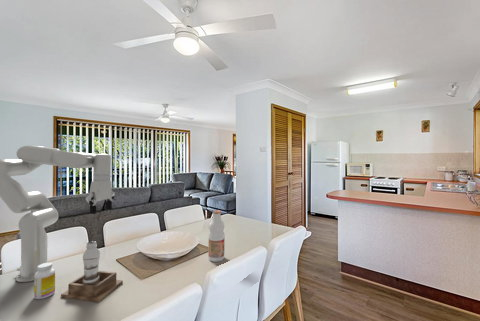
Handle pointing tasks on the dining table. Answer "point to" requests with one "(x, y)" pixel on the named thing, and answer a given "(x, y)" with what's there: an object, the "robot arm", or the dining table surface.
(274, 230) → the dining table surface
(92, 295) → the walnut caddy
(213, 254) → the fruit juice
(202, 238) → the dining table surface
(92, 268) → the plastic bottle
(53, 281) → the supplement bottle
